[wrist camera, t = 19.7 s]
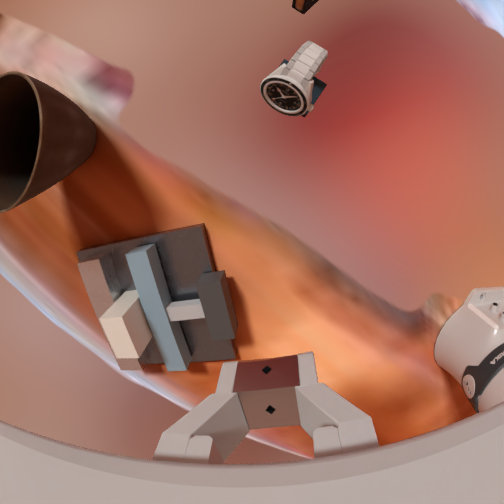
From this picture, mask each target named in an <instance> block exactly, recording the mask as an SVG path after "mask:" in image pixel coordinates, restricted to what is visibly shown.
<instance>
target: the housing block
mask: <svg viewBox="0 0 504 504" xmlns="http://www.w3.org/2000/svg"><path fill="white" fill-rule="evenodd" d="M99 320H100V322H101V324H102V327H103V329H104V331H105V334H106V336H107V338H108V340H109V342H110V345H111V347H112V349H113V351H114V353H115V355H116V357H117V358H140V356H141V354H142V353H143V351H144V350H145V348H146V346H147V345H148V343H149V341H150V340H151V338H152V337H153V333H152V331H151V328H150V326H149V323H148V320H147V318H146V315H145V312H144V310H143V307H142V304H141V301H140V298H139V295H138V293H137V290H132V291H125V292H124V293H123V295H122V296H121V297H120V298H119V299H118V300H117V301H116V302H115V303H114V304H113V305H112V306H111V307H110V308H109V309H108V310H107V311H106V312H105V313H104V314H103V315H102V316H101V317H100V318H99Z"/></svg>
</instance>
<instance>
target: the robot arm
mask: <svg viewBox="0 0 504 504" xmlns="http://www.w3.org/2000/svg"><path fill="white" fill-rule="evenodd" d="M480 295H481V296H480ZM434 357H435V360H436V363H437V364H438V365H439V366H440V367H441V368H443V369H444V370H446V371H447V372H448V373H449V374H450V375H452V376H453V377H454V378H455V379H456V380H457V381H458V383H459V384H460V385H461V386H462V388H463V390H464V393H465V395H466V397H467V398H468V400H469V402H470V403H471V405H472V406H473V408H474V409H475V411H476V412H477V414H475V415H473V416H470V417H468V418H465V419H463V420H461V421H458V422H456V423H453V424H450V425H448V426H445V427H442V428H439V429H437V430H434V431H431V432H428V433H425V434H422V435H419V436H415V437H412V438H409V439H405V440H402V441H398V442H395V443H391V444H387V445H383V446H379V443H378V440H377V436H376V432H375V429H374V425H373V422H372V418H371V417H370V416H369V415H367V414H366V413H364V412H363V411H361V410H360V409H359V408H357V407H356V406H354V405H353V404H352V403H350V402H349V401H347V400H346V399H345V398H343V397H342V396H340V395H339V394H338V393H336V392H335V391H333V390H332V389H331V388H329V387H328V386H327V385H325V384H324V383H318V378H317V372H316V365H315V359H314V353H313V352H306V353H301V354H298V355H291V356H284V357H276V358H266V359H255V360H242V361H231V362H224V363H223V365H222V368H221V372H220V377H219V381H218V385H217V389H216V393H215V394H210V395H209V396H208V397H207V398H206V399H204V400H203V401H202V402H201V403H200V404H198V405H197V406H196V407H195V408H193V409H192V410H191V411H190V412H189V413H187V414H186V415H185V416H184V417H182V418H181V419H180V420H179V421H177V422H176V423H175V424H174V425H172V426H171V427H170V428H169V429H167V430H166V431H164V432H163V433H162V436H161V438H160V441H159V444H158V447H157V449H156V452H155V454H154V457H153V460H150V459H143V458H135V457H129V456H122V455H117V454H112V453H107V452H102V451H97V450H92V449H88V448H84V447H80V446H76V445H72V444H68V443H64V442H61V441H57V440H54V439H51V438H47V437H44V436H41V435H38V434H35V433H32V432H29V431H26V430H24V429H21V428H18V427H16V426H13V425H10V424H8V423H5V422H3V421H0V504H504V287H489V288H488V287H487V288H475V289H473V290H472V291H471V292H470V294H469V295H468V297H467V298H466V300H465V302H464V304H463V305H462V306H461V307H460V308H459V309H458V310H457V311H456V312H455V313H454V314H453V315H452V316H451V317H450V318H449V320H448V321H447V322H446V323H445V325H444V326H443V328H442V330H441V331H440V333H439V335H438V338H437V340H436V344H435V349H434ZM295 425H301V427H302V428H303V429H304V430H305V431H306V432H307V433H308V434H309V435H310V437H311V438H312V439H313V440H314V455H315V459H307V460H299V461H288V462H276V463H260V464H225V463H224V462H225V460H226V459H227V458H228V456H229V455H230V454H231V453H232V452H233V451H234V449H235V448H236V447H237V446H238V445H239V443H240V442H241V441H242V439H243V438H244V437H245V436H246V435H247V433H248V432H249V430H250V429H261V428H271V427H283V426H295Z"/></svg>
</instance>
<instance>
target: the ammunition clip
mask: <svg viewBox="0 0 504 504" xmlns="http://www.w3.org/2000/svg"><path fill="white" fill-rule="evenodd" d="M317 1H318V0H293V4H292V7H293V8H294V9H296V10H297V11H299V12H300V13H302V14H305V13H306V12H307V11H308V10H309V9H310V8H311V7H312V6H313V5H314V4H315V3H316V2H317Z"/></svg>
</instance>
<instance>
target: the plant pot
mask: <svg viewBox="0 0 504 504" xmlns="http://www.w3.org/2000/svg"><path fill="white" fill-rule="evenodd" d="M95 144H96V129H95V126H94V123H93V122H92V120H91V119H90V118H89V117H88V116H87V114H86V113H85V112H84V111H83V110H82V109H81V108H79V107H78V106H77V105H76V104H75V103H74V102H72V101H71V100H70V99H69V98H67V97H66V96H64V95H63V94H62V93H60V92H59V91H57V90H55V89H54V88H52V87H50V86H49V85H47V84H45V83H43V82H41V81H39V80H37V79H35V78H33V77H30V76H28V75H26V74H23V73H21V72H17V71H12V72H7V73H4V74H2V75H0V213H3V212H6V211H9V210H10V209H12V208H14V207H16V206H18V205H20V204H22V203H23V202H25V201H27V200H29V199H31V198H33V197H35V196H37V195H38V194H40V193H42V192H43V191H45V190H47V189H48V188H50V187H52V186H53V185H55V184H56V183H58V182H59V181H61V180H62V179H64V178H65V177H66V176H68V175H69V174H70V173H72V172H73V171H74V170H75V169H77V168H78V167H79V166H80V165H81V164H83V163H84V162H85V161H86V160H87V159H88V158H89V157H90V155H91V154H92V152H93V150H94V148H95Z"/></svg>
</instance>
